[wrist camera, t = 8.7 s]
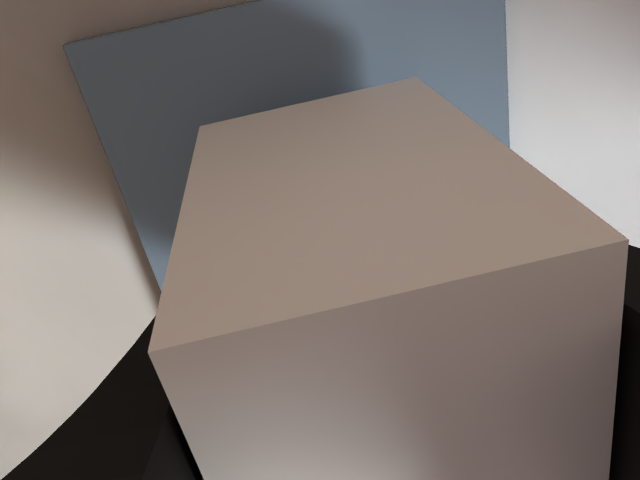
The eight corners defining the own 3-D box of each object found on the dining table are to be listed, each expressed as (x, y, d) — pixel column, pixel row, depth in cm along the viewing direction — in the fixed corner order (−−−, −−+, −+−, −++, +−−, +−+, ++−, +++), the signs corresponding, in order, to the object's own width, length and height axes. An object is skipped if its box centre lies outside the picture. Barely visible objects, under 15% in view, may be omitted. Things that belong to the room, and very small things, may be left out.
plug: (416, 76, 11) (628, 238, 5) (436, 262, 13) (603, 537, 7) (199, 126, 11) (147, 351, 5) (254, 304, 13) (265, 619, 7)
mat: (495, -54, 12) (503, -54, 11) (508, 298, 16) (514, 306, 16) (67, 42, 11) (62, 45, 11) (197, 371, 16) (197, 381, 15)
